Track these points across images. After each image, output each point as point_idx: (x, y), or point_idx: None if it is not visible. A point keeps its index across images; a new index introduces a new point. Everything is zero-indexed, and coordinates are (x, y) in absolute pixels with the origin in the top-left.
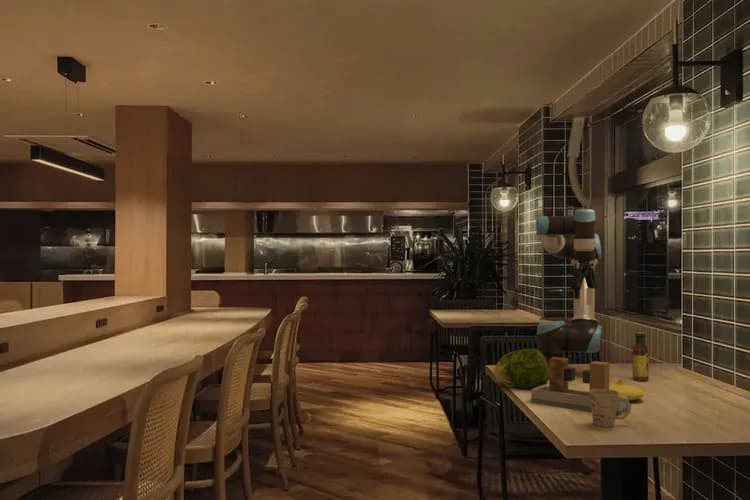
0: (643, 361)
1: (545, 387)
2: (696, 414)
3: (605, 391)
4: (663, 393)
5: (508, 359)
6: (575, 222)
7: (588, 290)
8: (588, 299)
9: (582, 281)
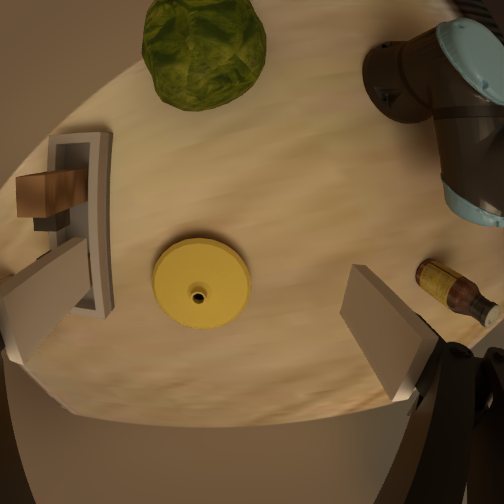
0: (439, 298)
1: (90, 144)
2: (163, 389)
3: None
4: (312, 334)
5: (154, 5)
6: None
7: (402, 344)
8: (365, 299)
9: (7, 437)
